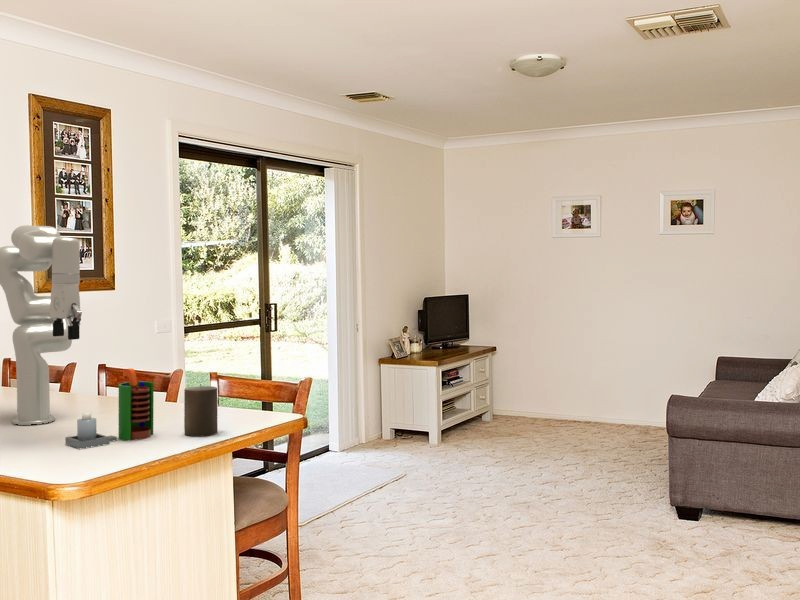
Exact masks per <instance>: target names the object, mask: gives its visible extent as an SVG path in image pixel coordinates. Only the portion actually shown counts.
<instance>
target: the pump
mask: <svg viewBox="0 0 800 600" xmlns="http://www.w3.org/2000/svg"><path fill="white" fill-rule="evenodd" d="M76 420H77V422H76V423H77V424H76V425H77V426H76V427H77V428H76V429H77V430H76V431H77V435H76V436H78V440H80V441H84V440H90V439H96V438H97V432H98V431H97V418H96V417H92V412H89V411H87V412H82V413H81V418H78V419H76Z"/></svg>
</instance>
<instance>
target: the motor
mask: <svg viewBox="0 0 800 600" xmlns="http://www.w3.org/2000/svg"><path fill="white" fill-rule="evenodd" d="M122 377H128V378H129V380H128V381H126V382H121V383H118V439H119V440H122V441H127V440H130V441H132V440H133V441H134V440H135V439H139V440H145V439H148V438H149V439H150V437H151V436H152V435H154V390H155V389H154V387H155V385H154V384H155V383H154V382H153V381H141V380H140V381H138V380H137V379H138V378H137V374H136V369H134V368H124V369H122ZM135 441H136V440H135Z"/></svg>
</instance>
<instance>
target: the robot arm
mask: <svg viewBox="0 0 800 600" xmlns="http://www.w3.org/2000/svg"><path fill="white" fill-rule="evenodd" d="M10 241H11V243H12V245H7V246H6V245H5V246H1V247H0V286H1V288H2V290H3V292H4V295H5V297H6V302H7V306H8V309H9V313H10V316H11V319H12V321H13V323H14V324H16V325H18V326H17V327H16V328H15V329H14V330H13V332H12V344H13V349H14V353H15V354H14V355H15V368H16V405H17V406H16V409H17V410H16V412H17V414H16V415H17V417H14V418H12V420H11V422H12V424H13V425H16V424H18V426H32V425H31V424H37V425H43V424H42V423H44V424H49V423H52V421H53V422H54V421H55V420H56V416H55V415H52V414H51V410H50V409H51V407H50V405H51V404H50V403H51V402H50V401H51V400H50V398H51V397H50V396H51V395H50V368H49V364H48V363H47V361H46V360H45V359H44V357H43V356H42V355H41V354H45V353H57V352H64V351H67V350H68V349H70V348H71V346H72V342H73V340H80V326H81V320H82V313H83V311H82V310H81V298H80V288H79V285H80V284H81V283H80V282H81V281H80V279H81V278H80V277H81V276H80V275H81V274H80V271H81V269H80V268H81V267H80V266H81V265H80V263H81V262H80V261H81V259H80V256H81V255H80V251H81V250H80V248H81V245H80V241H79V239H78V238H76V237H69V236H61V233H60V231H59V230H58V229H57V228H56V227H55V226H50V225H28V224H27V225H20V226H18V227H17V228H14V230H13V231H12V233H11V237H10ZM50 267H51V291H50V295H36V293H35V292H34V289H33V288H34V287H33V285H32V283H31V282H30V281H29V280H28V279H27V278H26V277H24V276H23V275H22V274H20V273H19V272H45V271H47V270H49V269H50ZM48 422H49V423H48Z"/></svg>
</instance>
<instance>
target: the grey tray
mask: <svg viewBox="0 0 800 600" xmlns="http://www.w3.org/2000/svg"><path fill="white" fill-rule="evenodd" d="M117 439H118V438H117V436H115V435H103V434H101V433H97V438H96V439H90V440H84V441H80V440H78V436H77V435H70V436H66V437H65V442H64V443H65V445H66V444H67V445H66V446H69V445H70V446H69V447H72V446H73V448H75V447H76V449H78V448H84V449H87V448H86V447H89V448H92V447H91V446H95V447H99V446H98V445H101V446H104V445H103V444H106V445H110V442H114V441H113V440H116V441H117Z"/></svg>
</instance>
